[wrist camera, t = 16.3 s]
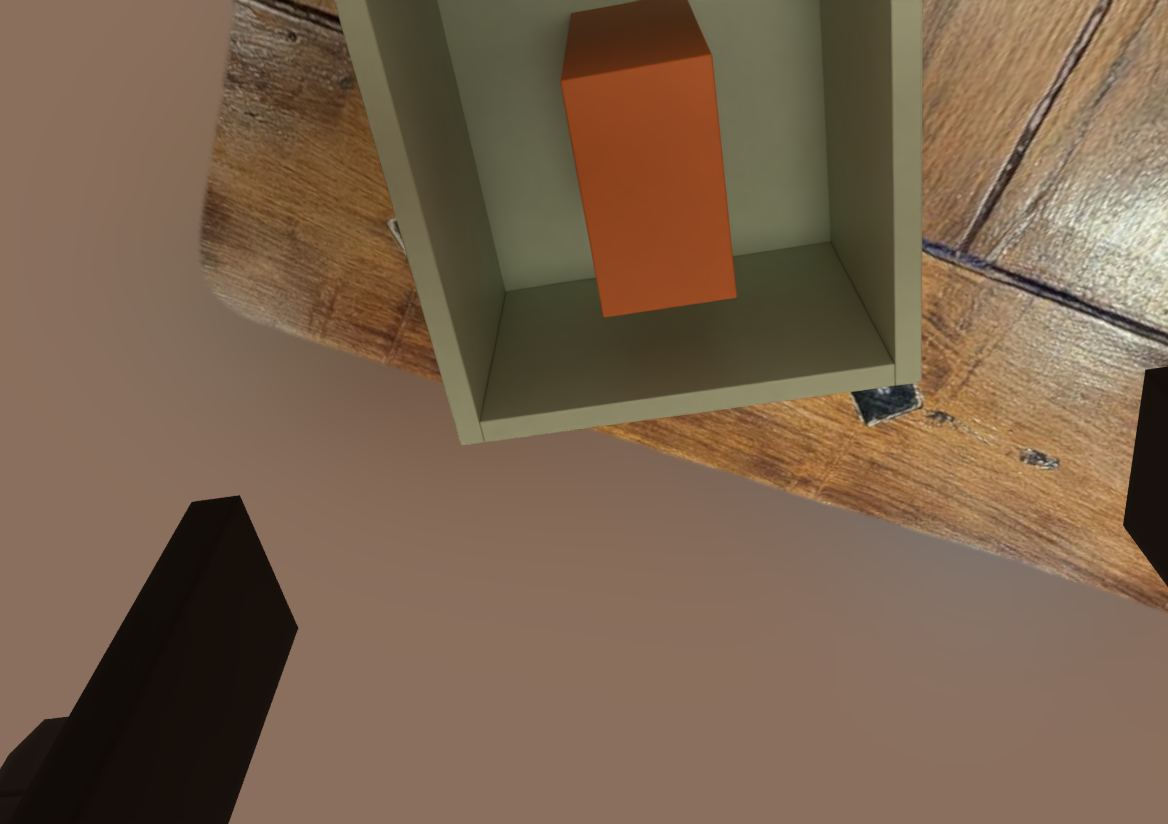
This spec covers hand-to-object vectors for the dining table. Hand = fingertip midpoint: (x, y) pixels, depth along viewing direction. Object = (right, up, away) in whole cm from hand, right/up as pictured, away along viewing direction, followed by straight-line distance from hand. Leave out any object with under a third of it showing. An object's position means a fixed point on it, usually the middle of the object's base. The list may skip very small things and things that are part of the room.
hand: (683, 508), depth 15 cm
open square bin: (+1, +13, +22) cm, 25 cm away
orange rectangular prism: (+1, +13, +21) cm, 25 cm away
